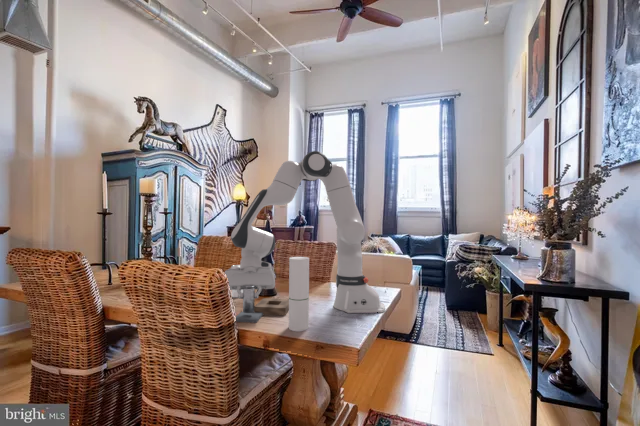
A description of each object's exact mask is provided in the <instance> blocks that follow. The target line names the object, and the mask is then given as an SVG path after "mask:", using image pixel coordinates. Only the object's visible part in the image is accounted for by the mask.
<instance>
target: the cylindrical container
mask: <svg viewBox="0 0 640 426" xmlns="http://www.w3.org/2000/svg"><path fill="white" fill-rule="evenodd" d="M288 262H289V265H288V269H289V270H288V275H289V277H288V299H289V311H288V329H289V330H290V331H293V332H305V331H307V330H309V328H310V327H309V324H310V323H309V322H310V321H309V319H310V318H309V316H310V315H309V313H310V312H309V310H310V307H309V306H310V305H309V304H310V257H307V256H290V257H289V261H288Z"/></svg>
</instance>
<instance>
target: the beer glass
mask: <svg viewBox="0 0 640 426" xmlns="http://www.w3.org/2000/svg"><path fill="white" fill-rule="evenodd" d="M230 268H232V269H235V268H240V264H233V265H231V266H230ZM241 293H243V290H241ZM231 295H232V297H231V298H234V299H239V294H238V292H237V290H231Z"/></svg>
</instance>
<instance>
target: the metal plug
mask: <svg viewBox="0 0 640 426" xmlns="http://www.w3.org/2000/svg"><path fill="white" fill-rule="evenodd" d="M255 290H256V289H255V285H244V286H243V299H242V312H244V313H252V312H254V306H255V305H256V303H255V302H256V301H255V299H256V298H255V297H254V295H255V293H256V291H255Z"/></svg>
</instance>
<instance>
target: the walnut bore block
mask: <svg viewBox="0 0 640 426" xmlns="http://www.w3.org/2000/svg"><path fill="white" fill-rule="evenodd" d="M254 312H263V316H264V315H266V316H269V315H270V316H287V314H289V298H272V297H271V298H265V297H263V298H262V299H260V301H258V302H257V304H255V305H254Z"/></svg>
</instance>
